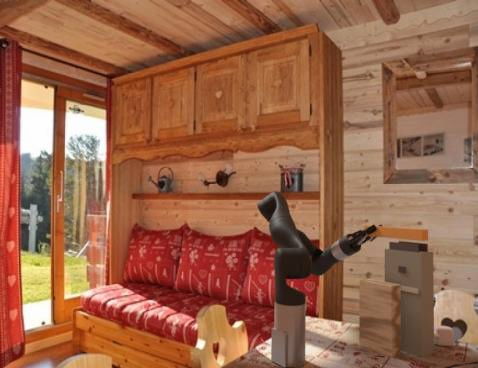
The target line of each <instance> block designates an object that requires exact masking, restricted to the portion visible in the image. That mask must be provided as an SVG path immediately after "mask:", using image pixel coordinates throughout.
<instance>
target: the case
mask: <svg viewBox="0 0 478 368" xmlns="http://www.w3.org/2000/svg"><path fill="white" fill-rule="evenodd" d="M388 245H389V247H388V248H384V282H388V283H393V284H398V285H401V352H404V353H407V354H409V355H412V356H415V357H418V358H421V359H423V358H426V357H429V356H431V355H434V354H435V343H434V326H435V310H434V309H435V307H434V306H435V305H434V303H435V302H434V301H435V300H434V299H435V297H434V295H435V294H434V293H435V292H434V291H435V289H434V286H435V285H434V252H433V251H429V247H428V246H429V245H428V243H424V242H423V243H422V242H421V243H420V242H412V241H400V240H399V241H397V242H396V241H389V242H388Z"/></svg>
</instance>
